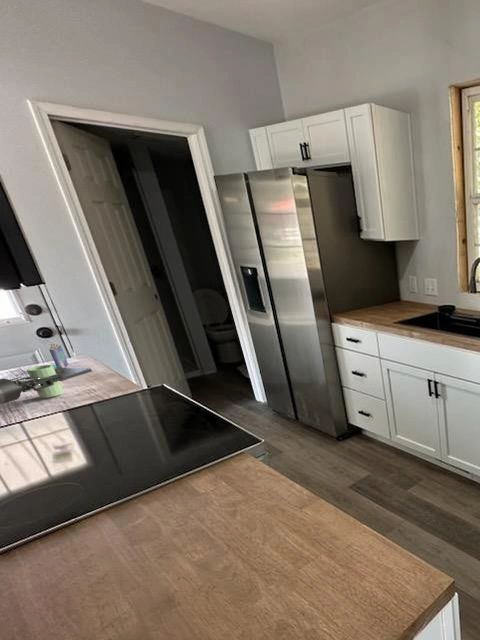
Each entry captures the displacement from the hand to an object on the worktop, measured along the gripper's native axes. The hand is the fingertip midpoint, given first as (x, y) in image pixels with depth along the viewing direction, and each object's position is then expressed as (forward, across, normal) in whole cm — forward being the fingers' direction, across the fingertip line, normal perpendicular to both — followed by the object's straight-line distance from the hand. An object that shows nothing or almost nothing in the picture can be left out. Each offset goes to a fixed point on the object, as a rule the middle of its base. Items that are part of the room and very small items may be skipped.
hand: (52, 376), depth 144 cm
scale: (+17, +21, +7) cm, 28 cm away
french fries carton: (+27, +34, +7) cm, 44 cm away
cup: (-2, 0, +6) cm, 6 cm away
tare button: (+17, +25, +4) cm, 31 cm away
